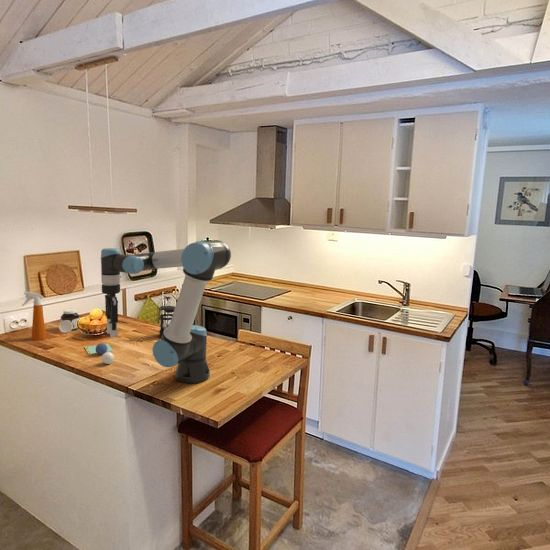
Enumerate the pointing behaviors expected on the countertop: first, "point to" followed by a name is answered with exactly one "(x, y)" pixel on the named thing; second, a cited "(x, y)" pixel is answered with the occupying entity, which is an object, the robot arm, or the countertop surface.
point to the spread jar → (69, 320)
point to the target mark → (93, 349)
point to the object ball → (101, 348)
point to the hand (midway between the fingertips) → (111, 334)
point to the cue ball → (107, 358)
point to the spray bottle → (36, 316)
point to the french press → (165, 325)
